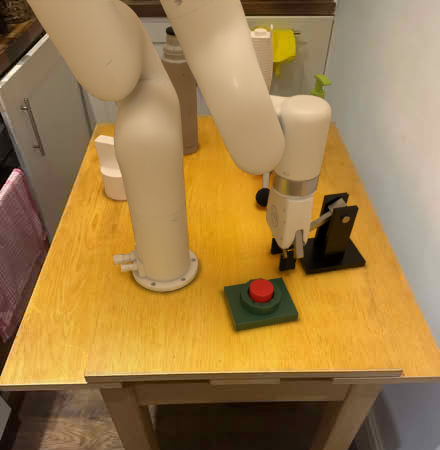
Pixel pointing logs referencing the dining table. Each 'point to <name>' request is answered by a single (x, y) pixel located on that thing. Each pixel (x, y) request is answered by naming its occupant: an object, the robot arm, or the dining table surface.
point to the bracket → (333, 240)
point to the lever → (324, 216)
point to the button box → (259, 306)
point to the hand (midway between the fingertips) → (282, 260)
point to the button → (261, 290)
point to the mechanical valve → (263, 191)
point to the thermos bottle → (182, 89)
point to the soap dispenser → (320, 85)
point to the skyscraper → (264, 52)
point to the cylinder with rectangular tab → (110, 168)
